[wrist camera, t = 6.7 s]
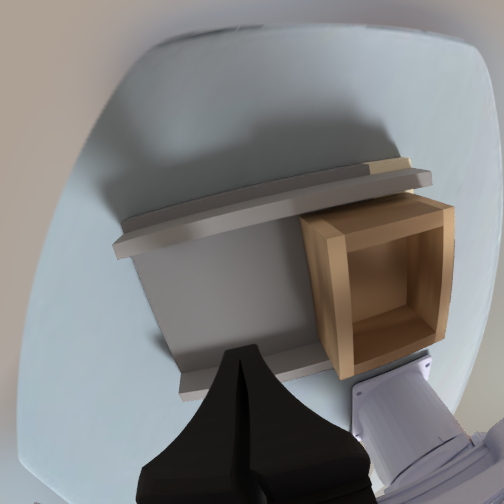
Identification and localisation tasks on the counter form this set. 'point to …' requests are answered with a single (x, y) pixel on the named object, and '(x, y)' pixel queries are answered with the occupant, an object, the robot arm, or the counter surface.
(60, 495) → the counter surface
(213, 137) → the counter surface
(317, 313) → the crate
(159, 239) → the bay
